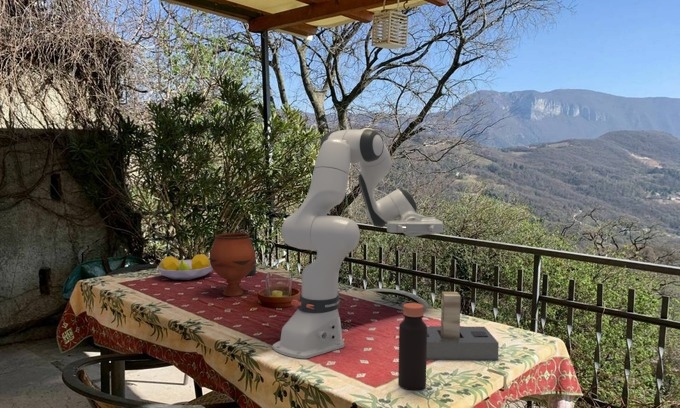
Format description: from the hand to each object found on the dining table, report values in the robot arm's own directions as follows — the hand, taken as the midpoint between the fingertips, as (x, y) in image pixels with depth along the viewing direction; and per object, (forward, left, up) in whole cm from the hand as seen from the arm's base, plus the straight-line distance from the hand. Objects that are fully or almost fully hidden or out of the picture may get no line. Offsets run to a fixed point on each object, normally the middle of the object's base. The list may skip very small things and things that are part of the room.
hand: (417, 229), depth 174 cm
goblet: (-17, +78, -32) cm, 86 cm away
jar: (+10, +101, -32) cm, 106 cm away
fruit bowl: (-12, +119, -32) cm, 123 cm away
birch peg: (-19, -22, -31) cm, 43 cm away
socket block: (-19, -22, -32) cm, 44 cm away
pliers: (+8, +42, -33) cm, 54 cm away
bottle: (-46, -25, -32) cm, 62 cm away
